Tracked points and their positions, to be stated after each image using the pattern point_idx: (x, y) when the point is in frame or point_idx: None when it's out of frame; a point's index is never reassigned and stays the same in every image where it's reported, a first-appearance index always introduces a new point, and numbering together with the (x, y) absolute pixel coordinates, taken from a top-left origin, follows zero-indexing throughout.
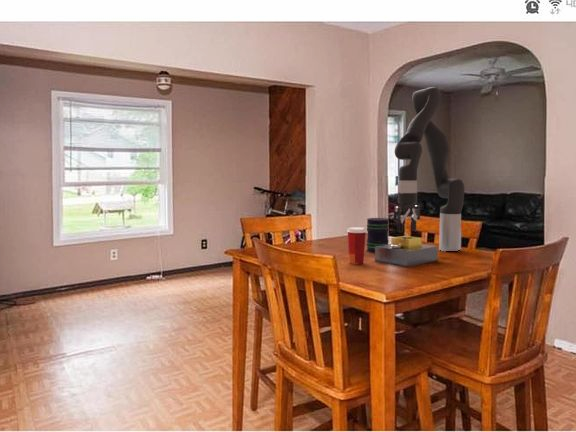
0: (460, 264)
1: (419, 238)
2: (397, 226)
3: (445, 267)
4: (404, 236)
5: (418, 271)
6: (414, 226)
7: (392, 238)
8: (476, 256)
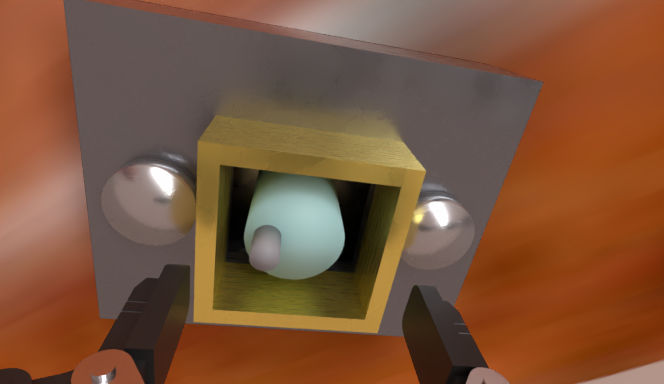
0: (388, 368)
1: (344, 330)
2: (116, 323)
3: (279, 360)
4: (265, 259)
5: (99, 331)
6: (415, 358)
7: (199, 152)
8: (623, 339)
